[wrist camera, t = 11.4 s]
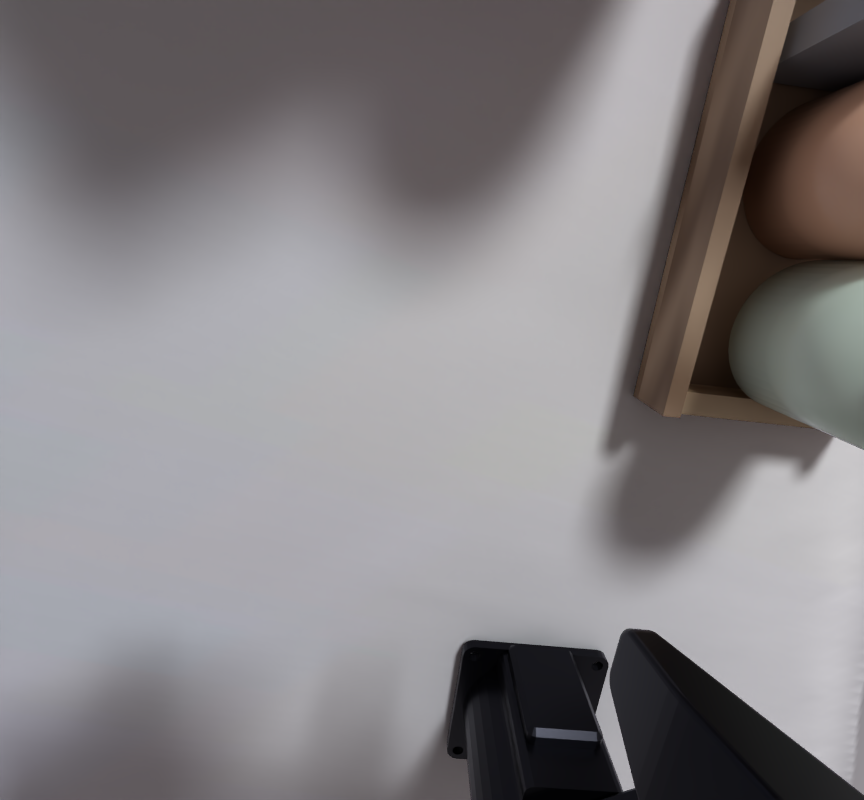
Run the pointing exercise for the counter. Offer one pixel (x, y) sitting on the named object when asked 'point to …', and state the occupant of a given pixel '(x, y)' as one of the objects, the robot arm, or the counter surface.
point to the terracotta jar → (811, 180)
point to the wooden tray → (721, 226)
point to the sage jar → (806, 346)
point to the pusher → (824, 47)
